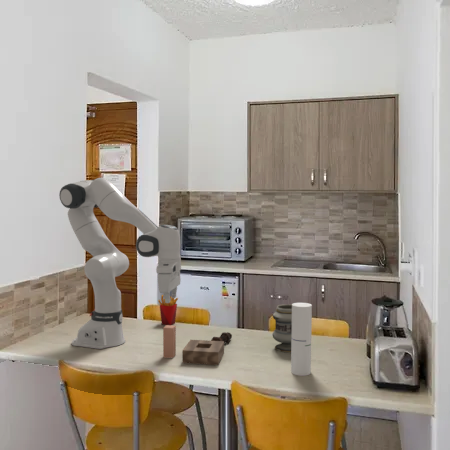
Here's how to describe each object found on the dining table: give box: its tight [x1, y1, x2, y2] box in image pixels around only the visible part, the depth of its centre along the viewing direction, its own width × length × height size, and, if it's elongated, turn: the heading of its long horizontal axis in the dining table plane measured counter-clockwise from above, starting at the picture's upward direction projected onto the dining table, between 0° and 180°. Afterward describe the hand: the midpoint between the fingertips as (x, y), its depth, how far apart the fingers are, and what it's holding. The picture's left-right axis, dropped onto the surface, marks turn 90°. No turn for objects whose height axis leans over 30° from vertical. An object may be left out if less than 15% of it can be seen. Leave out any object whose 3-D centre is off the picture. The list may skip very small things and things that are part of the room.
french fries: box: [157, 294, 179, 326], centre depth 244 cm, size 9×8×15 cm
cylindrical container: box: [290, 302, 313, 377], centre depth 180 cm, size 7×7×25 cm
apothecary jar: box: [272, 303, 292, 353], centre depth 208 cm, size 12×12×18 cm
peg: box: [162, 324, 177, 359], centre depth 197 cm, size 4×4×12 cm
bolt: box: [210, 332, 233, 344], centre depth 213 cm, size 6×5×15 cm
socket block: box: [181, 339, 225, 366], centre depth 195 cm, size 14×14×5 cm
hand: (170, 300), depth 197 cm, fingers open, 8 cm apart
